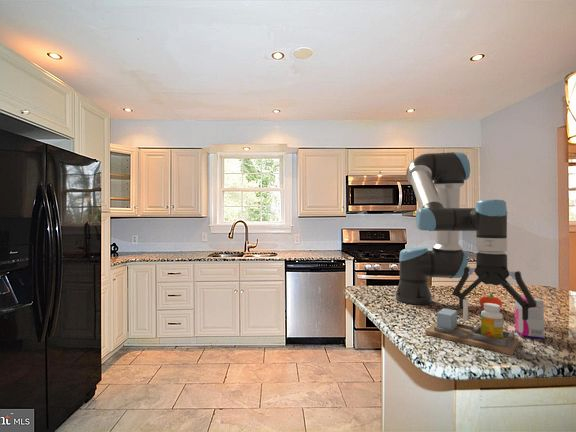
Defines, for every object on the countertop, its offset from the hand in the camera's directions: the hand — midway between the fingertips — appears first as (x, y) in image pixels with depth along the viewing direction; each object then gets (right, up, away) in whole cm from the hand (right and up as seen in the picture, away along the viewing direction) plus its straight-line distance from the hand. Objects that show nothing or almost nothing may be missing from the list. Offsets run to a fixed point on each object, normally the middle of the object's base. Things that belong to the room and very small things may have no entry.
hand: (491, 325), depth 89 cm
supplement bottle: (0, -4, 0) cm, 4 cm away
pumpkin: (+22, -6, +34) cm, 41 cm away
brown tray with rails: (-4, -5, +4) cm, 7 cm away
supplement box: (+16, -5, +6) cm, 18 cm away
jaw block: (-9, -3, +8) cm, 12 cm away
